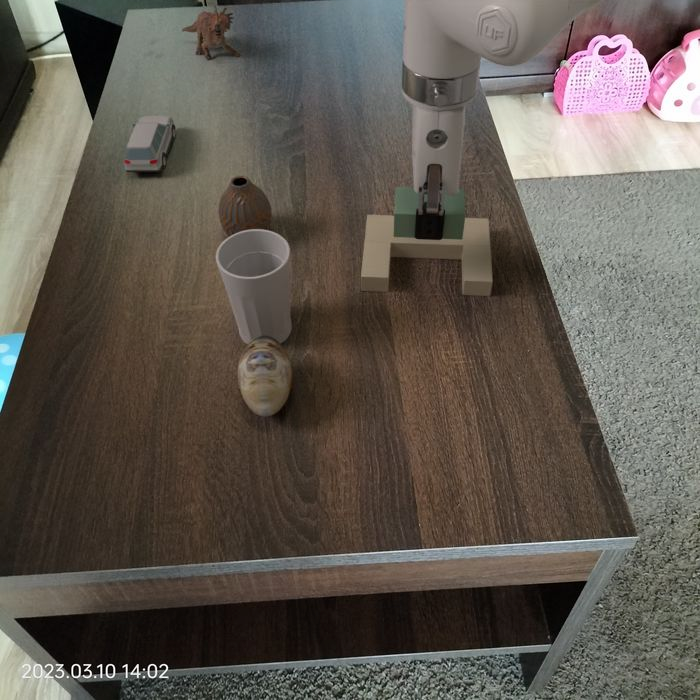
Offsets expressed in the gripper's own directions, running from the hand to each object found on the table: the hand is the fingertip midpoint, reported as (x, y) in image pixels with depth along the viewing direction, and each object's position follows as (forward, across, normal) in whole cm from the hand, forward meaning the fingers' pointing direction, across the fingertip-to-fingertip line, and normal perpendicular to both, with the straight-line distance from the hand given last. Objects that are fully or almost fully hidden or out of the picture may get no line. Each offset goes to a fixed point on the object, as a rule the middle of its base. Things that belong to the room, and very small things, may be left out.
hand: (428, 220), depth 85 cm
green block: (+1, 0, 0) cm, 1 cm away
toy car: (+10, +25, +42) cm, 50 cm away
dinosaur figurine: (+10, +57, +39) cm, 70 cm away
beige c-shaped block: (+9, +3, 0) cm, 9 cm away
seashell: (+9, -20, +17) cm, 28 cm away
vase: (+9, +7, +24) cm, 27 cm away
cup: (+9, -10, +19) cm, 23 cm away
